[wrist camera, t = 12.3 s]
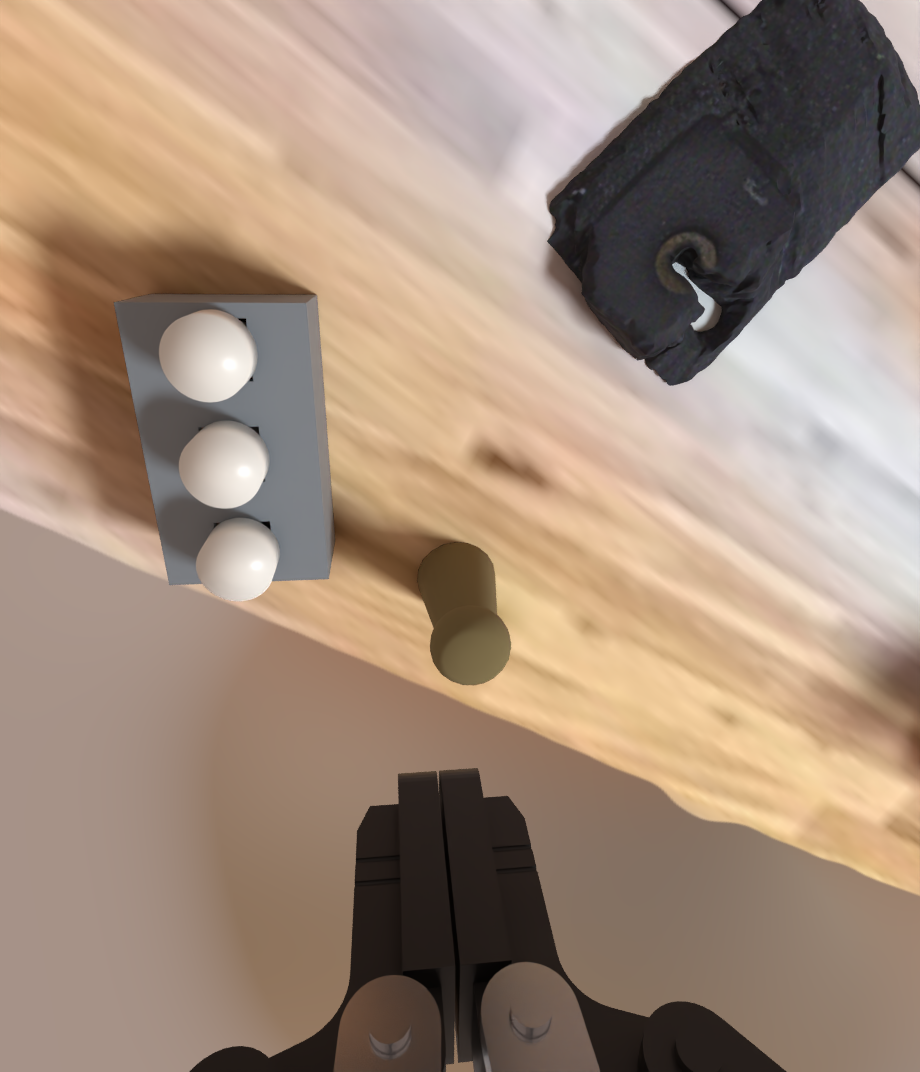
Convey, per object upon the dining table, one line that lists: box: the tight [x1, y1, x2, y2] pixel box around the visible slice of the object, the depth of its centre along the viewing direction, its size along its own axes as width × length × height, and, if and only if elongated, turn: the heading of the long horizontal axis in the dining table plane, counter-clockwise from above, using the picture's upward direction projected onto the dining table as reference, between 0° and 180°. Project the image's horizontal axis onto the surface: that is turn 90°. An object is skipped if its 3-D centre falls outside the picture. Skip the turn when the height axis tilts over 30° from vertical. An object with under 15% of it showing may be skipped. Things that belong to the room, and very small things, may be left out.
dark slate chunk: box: [547, 0, 920, 385], centre depth 39 cm, size 15×22×5 cm
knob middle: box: [179, 420, 270, 509], centre depth 39 cm, size 4×4×8 cm
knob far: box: [196, 518, 280, 601], centre depth 42 cm, size 4×4×8 cm
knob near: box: [159, 309, 258, 402], centre depth 37 cm, size 4×4×8 cm
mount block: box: [114, 294, 335, 585], centre depth 41 cm, size 17×10×6 cm, turn 179°
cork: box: [417, 542, 511, 685], centre depth 45 cm, size 6×6×11 cm
